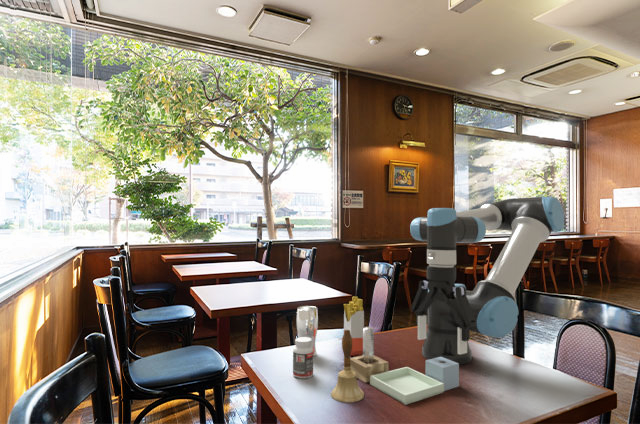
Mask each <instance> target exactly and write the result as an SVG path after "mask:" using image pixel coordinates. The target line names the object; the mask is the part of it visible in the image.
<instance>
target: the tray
mask: <svg viewBox="0 0 640 424" xmlns="http://www.w3.org/2000/svg"><path fill="white" fill-rule="evenodd" d="M369 385H370V386H372V387H374V388H376V389H377V390H379V391H381V392H382V393H384V394H385V395H387V396H389V397H391V398H393V399H395V400H396V401H398V402H400V403H401V404H403V405H404V406H406V405H409V404H412V403H416V402H419V401H422V400H425V399H428V398H431V397H435V396H437V395H440V394H443V393H445V391H444V383H442V382H439V381H437V380H435V379H433V378H431V377H429V376H426V375H425V374H424V373H422V372H419V371H417V370H415V369H413V368H411V367H409V366H405V367H401V368H396V369H392V370H389V371H388V372H384V373H380V374H376V375H372V376H370V382H369Z"/></svg>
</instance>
